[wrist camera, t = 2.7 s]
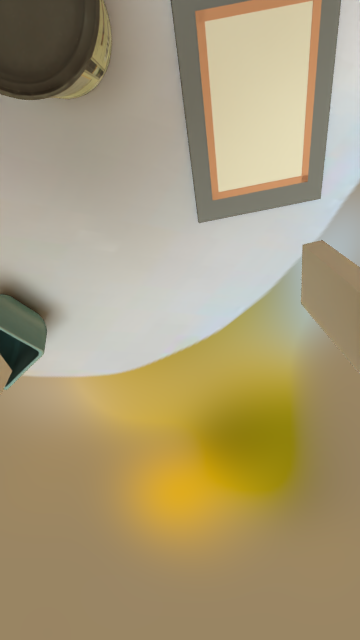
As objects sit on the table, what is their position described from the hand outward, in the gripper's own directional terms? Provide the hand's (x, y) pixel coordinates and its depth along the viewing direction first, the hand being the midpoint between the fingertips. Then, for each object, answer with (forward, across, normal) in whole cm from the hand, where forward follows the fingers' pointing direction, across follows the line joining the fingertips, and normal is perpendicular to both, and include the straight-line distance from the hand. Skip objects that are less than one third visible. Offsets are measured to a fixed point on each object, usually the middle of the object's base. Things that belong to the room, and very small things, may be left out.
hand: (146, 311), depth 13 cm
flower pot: (+29, -22, -14) cm, 39 cm away
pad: (+29, +14, +4) cm, 33 cm away
